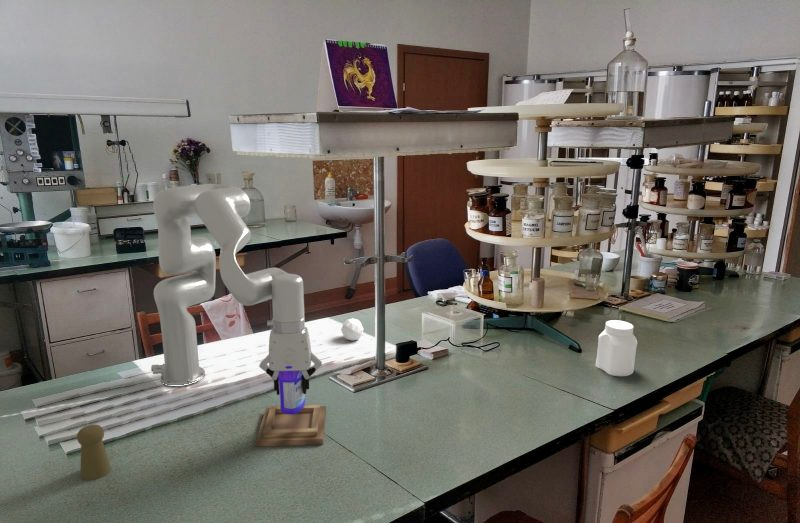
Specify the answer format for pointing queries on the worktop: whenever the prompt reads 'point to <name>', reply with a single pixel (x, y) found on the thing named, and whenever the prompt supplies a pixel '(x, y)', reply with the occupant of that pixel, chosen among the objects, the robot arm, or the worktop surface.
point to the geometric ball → (352, 329)
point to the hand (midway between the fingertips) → (292, 391)
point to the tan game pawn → (93, 453)
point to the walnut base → (292, 427)
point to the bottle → (291, 391)
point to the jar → (617, 348)
